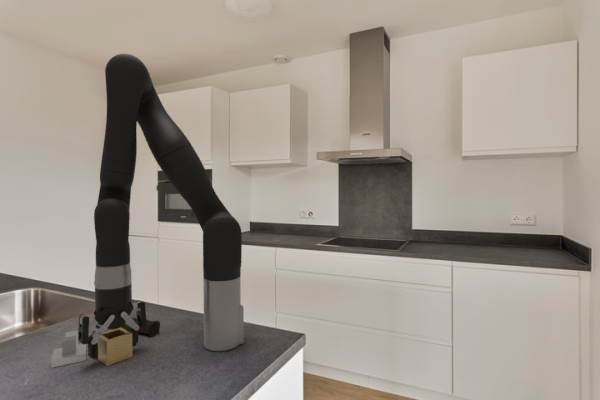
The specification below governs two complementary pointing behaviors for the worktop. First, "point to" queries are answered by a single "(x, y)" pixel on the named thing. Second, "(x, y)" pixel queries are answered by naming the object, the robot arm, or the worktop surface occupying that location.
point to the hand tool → (144, 327)
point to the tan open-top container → (114, 346)
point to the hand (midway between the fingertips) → (114, 351)
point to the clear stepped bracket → (69, 351)
